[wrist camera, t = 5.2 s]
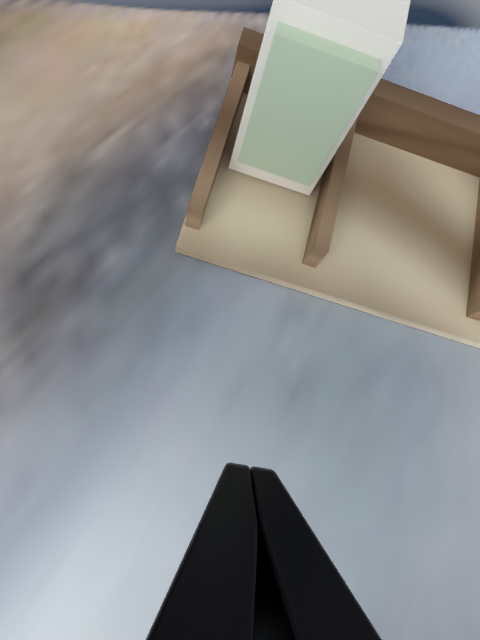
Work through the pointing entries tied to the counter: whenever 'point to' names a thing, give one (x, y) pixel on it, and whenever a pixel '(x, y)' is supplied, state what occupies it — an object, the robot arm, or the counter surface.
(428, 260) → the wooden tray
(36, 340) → the counter surface
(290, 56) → the white rectangular block
